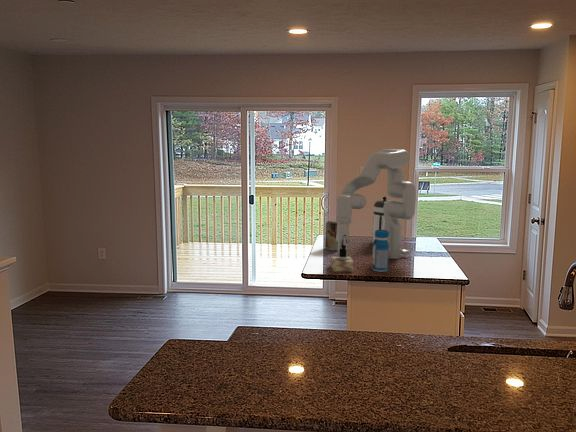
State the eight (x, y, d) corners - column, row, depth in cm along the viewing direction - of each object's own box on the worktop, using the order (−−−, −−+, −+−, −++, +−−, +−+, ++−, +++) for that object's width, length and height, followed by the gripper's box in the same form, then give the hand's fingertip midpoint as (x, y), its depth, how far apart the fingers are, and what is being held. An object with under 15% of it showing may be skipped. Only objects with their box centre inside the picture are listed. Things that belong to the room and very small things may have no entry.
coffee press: (398, 244, 314) (401, 196, 309) (389, 248, 301) (392, 198, 296) (372, 240, 323) (375, 194, 318) (362, 245, 310) (364, 196, 305)
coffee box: (342, 248, 299) (343, 222, 296) (339, 251, 293) (340, 223, 290) (328, 247, 302) (328, 220, 300) (324, 249, 296) (325, 222, 294)
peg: (337, 260, 256) (338, 237, 255) (345, 260, 257) (346, 237, 255) (338, 262, 252) (339, 239, 251) (346, 262, 253) (347, 239, 251)
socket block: (349, 266, 260) (350, 256, 260) (353, 271, 251) (353, 261, 250) (330, 266, 260) (330, 256, 259) (333, 271, 250) (333, 261, 249)
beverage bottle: (380, 273, 248) (382, 233, 245) (367, 269, 255) (369, 230, 252) (392, 270, 253) (394, 231, 250) (379, 266, 260) (381, 228, 257)
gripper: (333, 216, 259) (332, 251, 262) (338, 222, 243) (337, 259, 246) (348, 217, 260) (346, 252, 263) (354, 222, 243) (352, 259, 246)
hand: (342, 255), depth 254 cm, fingers closed on peg, 4 cm apart
